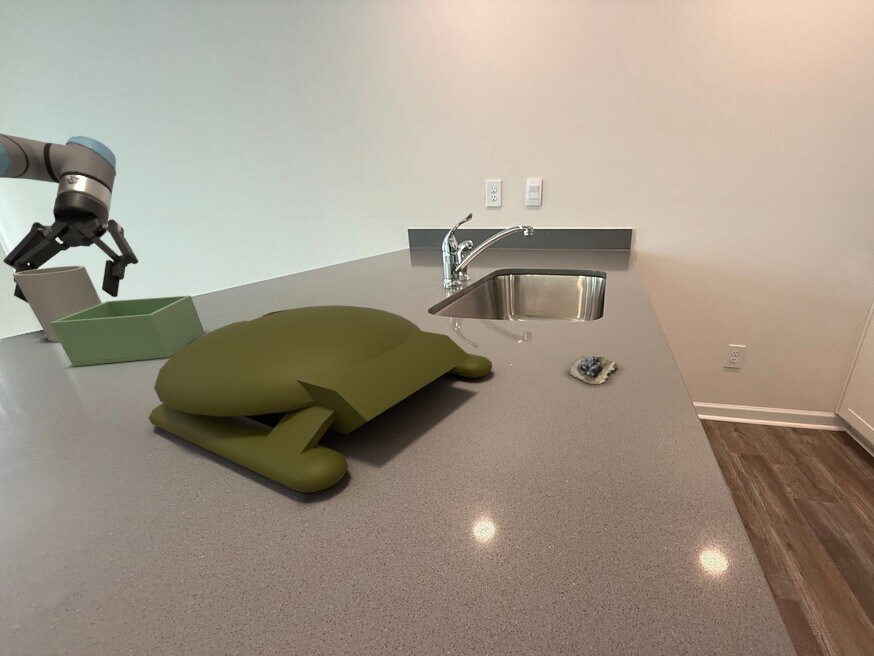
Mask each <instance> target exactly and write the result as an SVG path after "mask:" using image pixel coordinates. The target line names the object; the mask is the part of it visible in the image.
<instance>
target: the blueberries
mask: <svg viewBox="0 0 874 656" xmlns="http://www.w3.org/2000/svg"><path fill="white" fill-rule="evenodd" d="M617 367H618V364H617V363H616V362H614V361H612V360H609V359H606V358H605V357H604V356H595V355H594V356H591V357H588V356H584V355H583V356H580V357H579V358H577V359H575V361H574V362H573V364H572V365H571V366H570V367H569V370H570V371H569V375H571V376H573V377H574V378H577V379H580V380H581V381H582V382H583V383H587V384H588V385H600V384H602V383H605V382H606V379H608V374H612V371H614V370H615V369H616V368H617Z"/></svg>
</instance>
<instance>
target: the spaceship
mask: <svg viewBox="0 0 874 656" xmlns="http://www.w3.org/2000/svg"><path fill="white" fill-rule="evenodd" d="M492 369H493V362H492V361H491V360H490V359H489V358H488V357H486V356H483V355H478V354H473V353H468V352H466V351H465V350H464V349H463V348H462V347H460V345H459V344H457V343H456V342H455V341H454V340H453V339H452V338H451V337H450V336H448V335H447V334H442V333H436V332H430V331H424V330H421V328H420V327H419V326H418V325H417V324H415V323H414V322H412V321H410V320H409V319H407V318H405V317H404V316H402V315H399V314H397V313H394V312H390V311H387V310H382V309H378V308H375V307H374V308H373V307H366V306H355V305H339V304H338V305H336V304H334V305H314V306H304V307H296V308H295V307H294V308H288V309H283V310H276V311H272V312H268V313H267V314H263V315H261V316H260V317H257V318H254V319H251V320H242V321H236V322H232V323H230V324H229V323H228V324H227V325H224V326H222V327H219V328H217V329H214V330H212V331H209V332H206V333H204V334H202V335H200V336H198V337H197V338H196V339H194V340H193V341H191V342H190V343H189V344H187V345H186V346H184V347H183V348H181V349H180V350H178V351H177V352H176V353H174V354H173V355H172V356H170V357H169V359H168V360H167V361H166V362H165V363H164V364H163V365H162V366H161V367H160V368H159V371H158V374H157V377H156V380H155V383H154V387H153V389H154V391H155V393H156V395H157V398H158V400H159V402H161V404H159V405H158V406H156V407H154V408H153V409H152V411H151V412H150V414H149V416H148V420H149V422H150V423H151V425H153V426H155V427H157V428H159V429H162V430H164V431H166V432H167V433H170V434H172V435H175V436H176V437H179V438H180V439H183V440H185V441H187V442H189V443H192V444H194V445H195V446H198V447H200V448H202V449H205V450H207V451H209V452H211V453H213V454H215V455H218V456H219V457H221V458H224V459H225V460H228V461H230V462H232V463H235V464H237V465H240V466H241V467H243V468H246V469H248V470H249V471H252V472H254V473H256V474H258V475H260V476H263V477H265V478H267V479H270V480H271V481H273V482H276V483H278V484H280V485H283V486H285V487H287V488H289V489H291V490H293V491H296V492H301V493H317V492H321V491H323V490H327V489H329V488H330V487H332V486H334V485H336V484H338V483H339V481H340V480H341V479H342V478H343V477H344V476H345V475H346V472H347V470H348V468H349V466H348V462H347V458H346V456H345V455H344V454H343V453H340V452H339V451H337V450H335V449H331V448H329V447H326V446H324V445H321V444H318V443H319V441H320V440H321V439H322V437H323V436H324V435H325V433H326V432H327V430H328V429H329V430H332V431H334V432H338V433H341V434H345V435H348V434H349V433H352V432H353V431H355V430H356V429H357V428H360V427H361V426H363V425H364V424H366V423H368V422H369V421H370V420H372V419H373V418H376V417H377V416H379V415H381V414H382V413H384V412H385V411H386V410H389V409H390V408H392V407H393V406H395V405H396V404H398V403H400V402H401V401H404V400H405V399H406V398H409V396H411V395H413V394H415V392H417V391H419V390H420V389H422V388H424V387H425V386H427V385H428V384H430V383H431V382H433V381H435V380H436V379H438V378H440V377H442V376H443V375H444V374H450V375H455V376H460V377H465V378H471V379H472V378H474V379H475V378H480V377H484V376H486V375H488V374H489V373H490V372H491V371H492ZM284 412H286V413H285V414H284V415H283V416H282V418H281V419H280V420H279V421H278V422H277V424H276V425H275V426H274V427H273V426H270V425H267V424H264V423H262V422H259V421H257V420H255V419H252V418H249V417H247V416H250V417H251V416H257V415H266V414H267V415H268V414H277V413H284Z"/></svg>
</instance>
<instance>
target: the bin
mask: <svg viewBox="0 0 874 656" xmlns="http://www.w3.org/2000/svg"><path fill="white" fill-rule="evenodd" d="M50 324H51V326H52V328H53V330H54V332H55V334H56V336H57V337H58V339H59V341H60V342H59V343H60V345H61V347H62V349H63V350H64V352H65V354H66V356H67V357H68V359H69V362H70V363H71V365H72V367H80V366H93V365H103V364H111V363H112V364H113V363H125V362H135V361H145V360H156V359H165V358H166V359H167V358H171V357H172V356H173V355H174V354H175V353H176V352H177V351H178V350H180V349H181V348H183V347H184V346H186V345H188V344H189V343H191V342H192V341H194V340H196V339H197V338H199V337H201V336H202V335H204V334H205V330H204V327H203V325H202V324H203V323H202V322H201V319H200V316H199V313H198V311H197V308H196V306H195V303H194V301H193V298H192V296H191V295H180V296H177V295H176V296H164V297H150V298H149V297H148V298H135V299H133V298H131V299H120V300H107V301H104V302H102V303H101V304H98V305H96V306H93V307H90V308H88V309H85V310H82V311H80V312H77V313H74V314H72V315H69V316H66V317H64V318H61V319H58V320H56V321H53V322H50Z"/></svg>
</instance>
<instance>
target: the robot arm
mask: <svg viewBox="0 0 874 656" xmlns="http://www.w3.org/2000/svg"><path fill="white" fill-rule="evenodd" d="M116 169H117V158H116V156H115V154H114V152H113V151H112V150H111V149H110V148H109V147H108V146H107V145H105V144H104V143H103V142H101V141H99V140H97V139H95V138H92V137H89V136H86V135H85V136H84V135H75V136H71V137H69V138H68V140H67V141H66V142H65V144H62V143H61V144H60V143H53V142H45V141H41V140H36V139H30V138H25V137H20V136H15V135H10V134H5V133H1V132H0V178H1V179H18V180H19V179H20V180H21V179H22V180H32V181H40V182H46V183H55V184H58V186H57V192H56V197H55V200H54V205H53V210H52V213H53V218H54V221H53V223H52V224H51V225H43V224H42V223H40V222H39V221H36V222H33V223H32V225H31V227H30V230H29V232H28V233H27V234H26V235H25V236H24V237H23V238H22V239H21V240H20V242H19V243H18V244H16V246H15V247H14V248H13V249H12V250H11V251H10V252H9V253H8V254H7V255H6V257H4V258H3V260H2V261H3V263H4V264H6V265H7V266H9V267H11V268H13V269H14V270H15V272H14V273H18V272H22V271H28V270H35V269H40V267H42V266H43V265H44V264H46V263H48V262H49V261H50V260H51V259H52V258H54V257H55V256H56V255H58V254H59V253H61V252H65V251H68V249H70V248H78V247H91V245H93V244H94V245H95V246H97V247H98V248H99V249H100V250H101V251H102V252H103V253H104V254H106V255H107V256H108V257H109V258H110V259H107V260H105V264H104V273H103V278H102V286H101V290H102V291H104V293H106V294H108V295H109V296H111V297H112V298H118V294H119V288H120V281H123V280H124V278H125V274H126V268H127V267H128V266H129V265H130V264H132V265H136V264H138V263H139V259H138V258H137V256H136V254H135V252H134V250H133V249H132V247H131V245H130V244H129V242H128V241H127V239H126V237H125V229H124V228H123V227H122V226H121V224H119V223H118V222H117V221H116V220H115V219H112V218H111V219H109V216H110V212H111V206H112V205H111V204H112V196H113V189H114V184H115V178H116V176H117V170H116ZM107 232H108V233H109V234H110V236H111V237H112V239H113V241H114V243H115V244H116V246H117V248H118V250H119V251H120V253H121V254H120V255H119V254H118V253H116V252H115V250H113V249H112V248H111V247H110V246H109V245H108V244H106V243H105V241H103V240H102V239H101V238H102V237H104V235H105V234H107ZM56 239H58V240H59V241H61V242H62V243H60V242H59V241H58V240H56ZM13 283H15V288H14V292H13V296H14V297H16V298H18V299H19V300H21V301H23V302H25V303H26V304H29V303H28V301H27V300H26V298H25V296H24V294H23V292H22V291H21V289H20V287H19V285H18V283H17V282H16V280H15V278H14V277H13Z"/></svg>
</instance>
